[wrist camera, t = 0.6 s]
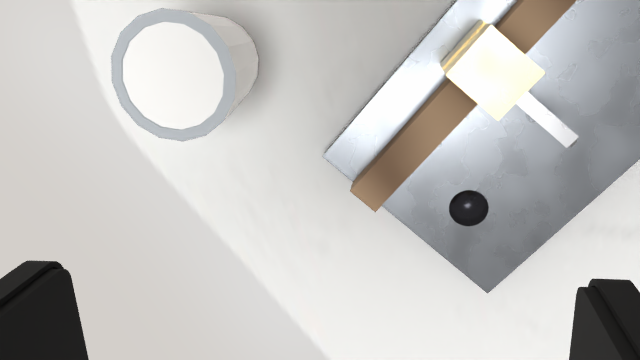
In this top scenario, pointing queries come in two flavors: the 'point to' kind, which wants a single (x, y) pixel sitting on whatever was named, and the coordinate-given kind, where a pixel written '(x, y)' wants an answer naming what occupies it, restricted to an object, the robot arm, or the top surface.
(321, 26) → the top surface
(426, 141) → the trammel beam
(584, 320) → the robot arm
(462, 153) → the plate
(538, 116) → the sliding head
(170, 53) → the light grey cup
